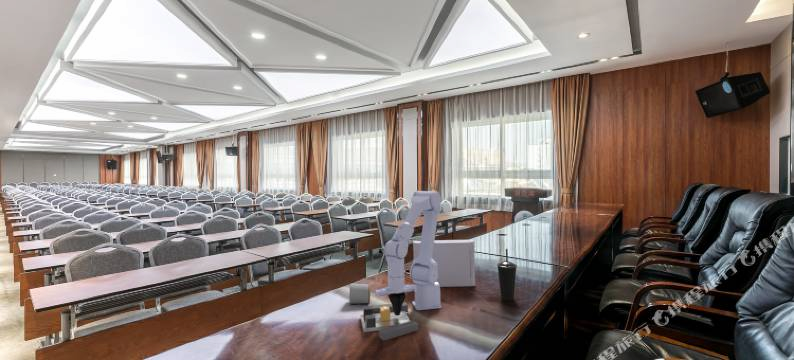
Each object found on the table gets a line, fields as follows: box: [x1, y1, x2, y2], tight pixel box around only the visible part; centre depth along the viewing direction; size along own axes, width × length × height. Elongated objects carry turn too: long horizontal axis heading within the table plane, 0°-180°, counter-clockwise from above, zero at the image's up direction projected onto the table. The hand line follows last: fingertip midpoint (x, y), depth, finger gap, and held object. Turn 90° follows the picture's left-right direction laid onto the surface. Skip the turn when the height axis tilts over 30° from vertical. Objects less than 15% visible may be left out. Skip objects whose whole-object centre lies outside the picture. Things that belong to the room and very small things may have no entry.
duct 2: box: [378, 320, 419, 342], centre depth 113 cm, size 13×3×2 cm, turn 121°
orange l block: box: [380, 306, 390, 321], centre depth 121 cm, size 3×3×4 cm
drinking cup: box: [496, 248, 518, 302], centre depth 140 cm, size 8×8×20 cm
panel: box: [360, 305, 411, 333], centre depth 121 cm, size 16×11×4 cm
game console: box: [412, 239, 476, 288], centre depth 159 cm, size 6×27×20 cm, turn 89°
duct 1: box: [371, 301, 409, 314], centre depth 130 cm, size 13×3×3 cm, turn 100°
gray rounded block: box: [348, 283, 371, 305], centre depth 142 cm, size 11×8×8 cm
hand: (397, 314), depth 122 cm, fingers closed
